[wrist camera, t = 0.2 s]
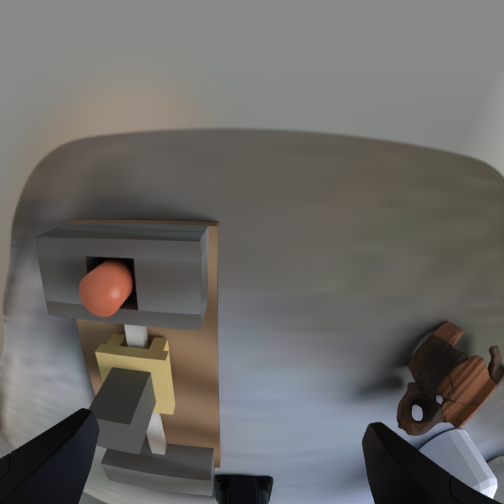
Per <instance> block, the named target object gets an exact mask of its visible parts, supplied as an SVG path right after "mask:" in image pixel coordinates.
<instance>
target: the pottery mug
mask: <svg viewBox="0 0 504 504" xmlns="http://www.w3.org/2000/svg"><path fill="white" fill-rule="evenodd" d="M463 333H464V332H463V330H462V329H461V328H459V327H457V326H455V325H453V324H451V323H450V322H448V321H447V322H445V323H444V324H442V325H441V326H440V327H439V328H438V329H437V330H436V331H435V332H434V333H433V334H432V335H431V336H430V337H429V338H428V339H427V341H426V342H424V343H423V344H422V345H421V347H420V348H419V349H418V350H417V351H416V353H415V354H414V355H413V357H412V359H411V360H410V362H409V364H408V368H409V370H410V371H411V373H412V376H413V378H414V381H415V383H414V382H410V383H408V386H407V387H408V390H407V392H406V394H405V395H404V396H403V398H402V399H401V401H400V402H399V405H398V410H397V422H398V427H399V428H400V429H403V430H405V431H406V433H407V434H408V435H412V436H418V435H422V434H424V433H426V432H428V431H429V430H430V429H431V428H432V427H434V426H435V425H436V424H438V423H441V422H445V423H447V422H450V423H451V424H452V425H453V426H454V427H455V429H459V428H460V427H461V426H463V425H464V424H465V423H466V422H467V421H468V420H469V419H470V418H471V417H472V416H473V415H474V414H475V413H476V412H477V411H478V410H479V408H480V407H481V406H482V404H483V403H484V402H485V401H486V400H487V399H488V398H489V397H490V395H491V394H492V393H493V392H494V390H495V389H496V388H497V387H498V386H499V385H500V383H501V382H502V381H503V379H504V365H503V363H502V356H501V353H500V351H499V349H498V346H491V347H490V348H489V353H490V355H491V361H490V363H489V366H488V368H487V366H486V363H485V361H484V359H483V358H482V357H480V356H477V355H474V356H471V357H469V358H468V356H467V355H466V354H464V353H462V352H460V351H459V350H457V349H455V348H453V347H454V346H455V344H456V343H457V342H458V340H459V339H460V338H461V337H462V336H463ZM436 394H438V395H440V396H441V397H442V399H443V401H442V403H441V404H439V403H437V402H436ZM413 405H418V406H420V407H421V408H422V411H423V418H422V420H421V421H416V420H414V419H413V417H412V406H413Z"/></svg>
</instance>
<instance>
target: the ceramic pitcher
mask: <svg viewBox="0 0 504 504" xmlns="http://www.w3.org/2000/svg"><path fill="white" fill-rule="evenodd" d="M487 464H488V466H489V468H490V469H491V471H492V472H493V474H494V475H495V477H496V479H497V486H498V487H497V489H496V492H495V494H494V497H493V499H494V500H496V501H498V502H500V503H503V504H504V456H499V457H497V458H494V459H491V460H490V461H489V462H488V463H487Z"/></svg>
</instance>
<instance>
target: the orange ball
mask: <svg viewBox="0 0 504 504" xmlns="http://www.w3.org/2000/svg"><path fill="white" fill-rule="evenodd" d="M134 287H135V275H134V272H133V270H132V269H131V267H130V266H129V265H128V264H127V263H126V262H124V261H123V260H120V259H117V258H111V259H107V260H105V261H104V262H103V263H101V264H100V265H99V266H97V267H96V268H95V269H94V270H92V271H91V272H90V273H89V274H87V275H86V276H85V277H84V278H83V279H82V280H81V282H80V285H79V296H80V299H81V301H82V303H83V305H84V306H85V307H86V309H87V310H88V311H90V312H91V313H92V314H94V315H96V316H100V317H108V316H111V315H113V314H114V313H115V312H116V311H117V310H118V309H119V307H120V306H121V305H122V304H123V302H124V301H125V300H126V299H127V297H128V296H129V295H130V294H131V293H132V291H133V290H134Z"/></svg>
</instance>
